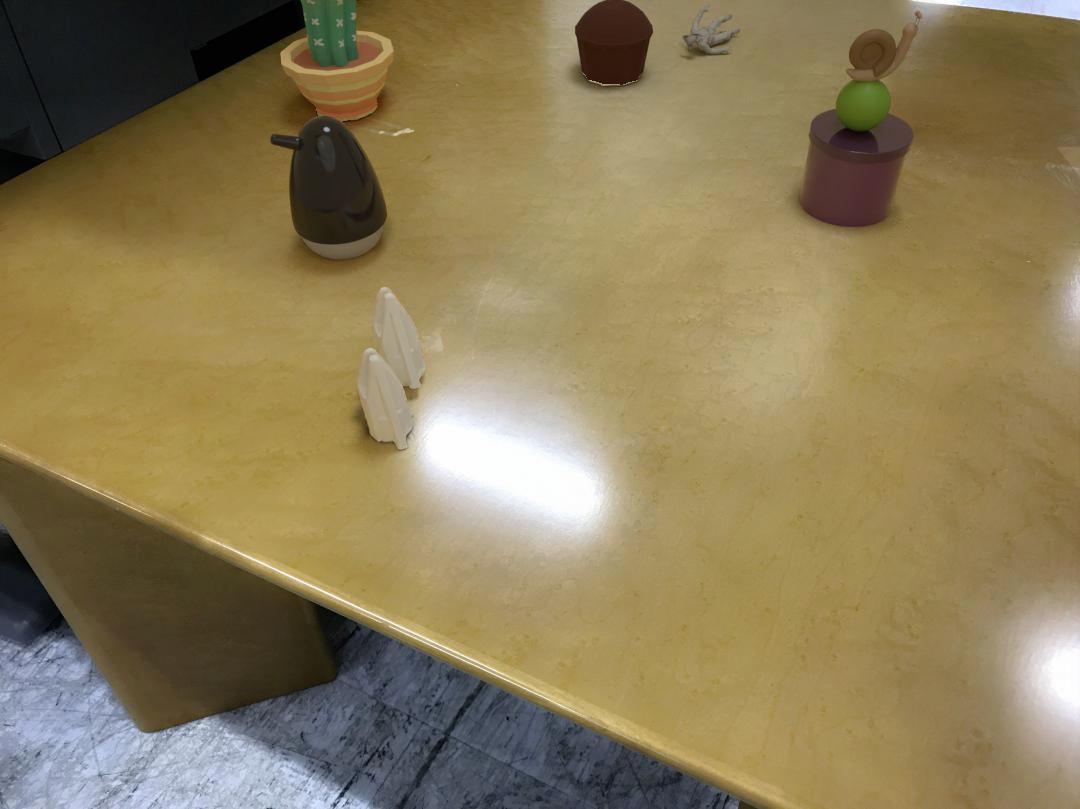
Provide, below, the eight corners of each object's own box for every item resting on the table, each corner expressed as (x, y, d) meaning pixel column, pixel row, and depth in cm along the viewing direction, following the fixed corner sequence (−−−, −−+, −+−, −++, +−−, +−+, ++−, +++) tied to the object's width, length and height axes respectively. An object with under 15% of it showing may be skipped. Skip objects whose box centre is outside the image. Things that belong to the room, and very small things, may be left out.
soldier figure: (750, 47, 141) (722, 48, 132) (724, 65, 144) (695, 67, 134) (726, 2, 141) (697, 0, 131) (701, 21, 144) (671, 20, 134)
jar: (883, 195, 106) (907, 109, 98) (894, 245, 98) (920, 156, 91) (791, 190, 107) (807, 104, 100) (795, 239, 100) (813, 150, 92)
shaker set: (389, 358, 86) (371, 262, 79) (432, 360, 86) (418, 263, 78) (360, 448, 78) (337, 350, 70) (408, 450, 77) (390, 352, 70)
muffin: (575, 58, 137) (575, -10, 130) (648, 57, 136) (652, -11, 130) (574, 92, 128) (574, 20, 121) (652, 91, 128) (656, 19, 121)
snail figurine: (899, 139, 93) (931, 22, 85) (838, 141, 93) (863, 24, 85) (884, 116, 97) (913, 1, 89) (825, 117, 97) (848, 3, 89)
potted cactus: (408, 83, 132) (383, -107, 115) (393, 132, 121) (364, -71, 104) (304, 85, 132) (264, -104, 115) (280, 133, 121) (231, -68, 104)
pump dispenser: (292, 232, 103) (261, 106, 93) (381, 215, 105) (360, 89, 95) (305, 281, 96) (273, 150, 86) (400, 261, 98) (380, 131, 88)
